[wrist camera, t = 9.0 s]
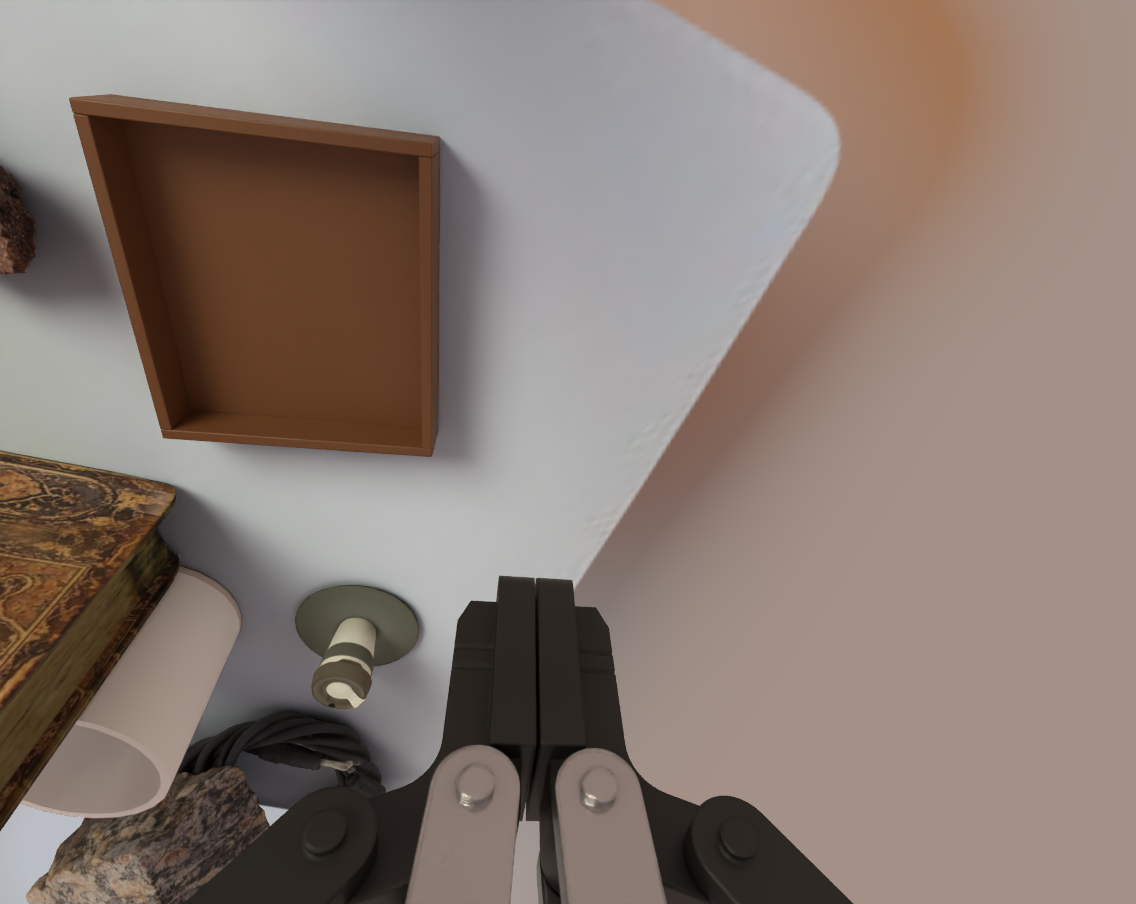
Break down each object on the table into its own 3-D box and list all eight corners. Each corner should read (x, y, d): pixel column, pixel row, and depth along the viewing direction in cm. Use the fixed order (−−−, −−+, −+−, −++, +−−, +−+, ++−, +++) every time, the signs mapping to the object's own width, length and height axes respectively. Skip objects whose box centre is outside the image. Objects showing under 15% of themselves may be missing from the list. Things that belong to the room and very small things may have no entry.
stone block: (216, 976, 35) (305, 859, 42) (141, 850, 34) (245, 752, 41) (73, 976, 40) (174, 872, 47) (3, 867, 39) (117, 777, 46)
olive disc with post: (302, 532, 35) (271, 596, 31) (484, 606, 39) (479, 671, 35) (236, 651, 40) (201, 720, 36) (403, 706, 44) (390, 773, 40)
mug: (215, 547, 35) (113, 704, 27) (272, 647, 40) (201, 808, 32) (31, 569, 36) (-130, 732, 27) (109, 666, 40) (-5, 830, 32)
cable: (259, 836, 53) (238, 893, 49) (127, 758, 46) (92, 817, 43) (420, 777, 49) (411, 835, 46) (303, 683, 42) (280, 741, 39)
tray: (109, 94, 23) (67, 97, 21) (440, 136, 25) (432, 143, 22) (187, 412, 31) (162, 438, 28) (438, 431, 32) (431, 457, 30)
